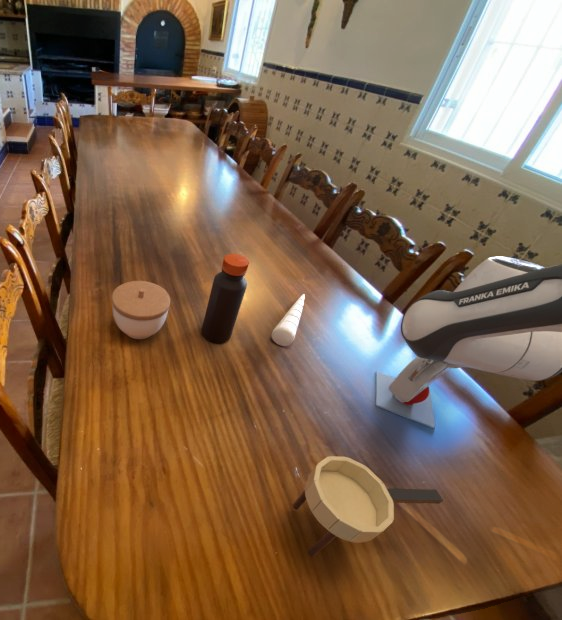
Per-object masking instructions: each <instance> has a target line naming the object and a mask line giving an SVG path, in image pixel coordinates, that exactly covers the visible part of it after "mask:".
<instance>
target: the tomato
mask: <svg viewBox="0 0 562 620" xmlns="http://www.w3.org/2000/svg"><path fill="white" fill-rule="evenodd" d="M429 390H430V387H429V386H428V387H427V388H425V389H424V390H423V391H422V392H420V393H419V394H418V395H417V396H415V397H414V398H413V399H411V400H410V401H408V402H403V404H406V405H412V404H414V403H420V402H423V401H424V400H425V399H426V398H427V397H428V395H429ZM394 396H395V395H394ZM401 403H402V402H401Z"/></svg>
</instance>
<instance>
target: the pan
mask: <svg viewBox="0 0 562 620" xmlns="http://www.w3.org/2000/svg"><path fill="white" fill-rule="evenodd" d="M443 502H444V499H443V498H442V496H441V494H440V493H439V491H438V490H437V489H429V488H427V489H426V488H425V489H424V488H421V489H420V488H418V489H417V488H387V487H386V485H385V483H384V482H383V481H382V479H380V477H378V476H377V475H376V474H375V473H374V472H373V471H372V470H371V469H370V468H369V467H368V466H366V465H365V464H364V463H361V462H358V461H357V460H354V459H352V458H350V457H348V456H339V455H338V456H335V455H329V456H326V457H325V458H323V459H322V460H321V461H319V462H318V463H317V464H316V465H315V466H314V467H313V468H312V470H311V471H310V472H309V474H308V475H307V478H306V481H305V483H304V490H303V491H302V492H301V494H300V495H299V496H298V498H297V499H296V500H294V502H293V503H292V508H293V510H296V511H299V510H300V508H301V506H302V505H304V503H306V504H307V505H308V508H309V510H310V512H311V513H312V515H313V516H314V518H315V519H316V521H318V522H319V524H320V525H321V526H322V527H323V528H325V530H327V532H326V533H325V534H323V536H322V537H320V539H318V540H317V541H316V542H315V543H314V544H313V545H312V546H311V547H310V548H308V549H307V555H308V556H309V557H311V558H314V557H315V556H316V555H318V554H319V552H321V551H322V550H323V549H324V548H325V547H326V546H327V545H329V544H330V543H331V542H333V540H334V539H336V538H339V539H341V540H343V541H347V542H350V543H356V544H359V543H361V544H362V543H367V542H370V541H372V540H374V539H376V537H378V536H379V535H381V534H382V533H383V532H384V531H385V530H386V529H387V528H389V526H391V525H392V524H393V523H394V520H395V513H394V512H395V504H432V505H433V504H434V505H436V504H437V505H438V504H440V505H441V503H443Z"/></svg>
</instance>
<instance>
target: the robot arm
mask: <svg viewBox="0 0 562 620" xmlns="http://www.w3.org/2000/svg"><path fill="white" fill-rule="evenodd" d="M400 333H401V336H402V338H403V340H404V342H405V343H406V345H407V346H408V348H409V349H410V350H411V351H412V353H413V354H415V356H416V357H415V358H413V360H411V361H410V362H409V363H408V364H407V365H405V367H404V368H403V369H402V370H401V371H400V373H399V374H398V375H397V376H396V377H394V378H395V379H394V381H393V382H392V383H391V384H390V386H389V391H390V392H392V393H393V394H394V395H395V398H396V399H397V400H399V401H400V402H402V403H403V402H408V401H410V400H411V399H413V398H414V397H415V396H417V395H418V394H419V393H420V392H422V391H423V390H424V389H425V388H427V387H429V386H431V385H432V384H433V383H435V382H436V381H437V380H438V379H439V378H440V377H442V376H443V375H445V374H446V373H447V372H448V371H450V370H451V369H460V368H470V369H474V370H479V371H483V372H487V373H493V374H496V375H500V376H505V377H509V378H513V379H518V380H523V381H530V382H543V381H545V380H549V379H552V378H554V377H556V376H558V375H560V374H561V373H562V264H557V265H552V266H549V267H545V266H542V265H540V264H537V263H535V262H530V261H527V260H524V259H519V258H514V257H508V256H501V255H500V256H491V257H488V258H486V259H485V260H483V261H482V262H480V263H479V264H478V265H477V266H476V267H475V268H474V269H473V270H471V271H470V272H469V273H468V274H467V276H466V277H465V278H464V279H463V280H462V281H461V282H460V284H459V285H458V286H457V287H456V288H455V289H454V290H453V291H447V290H444V289H437V290H434V291H431V292H428V293H427V294H424V295H423V296H421V297H419V298H417V299H416V300H414V301H413V302H412V303H411V304H410V305H409V306H408V307H407V308H406V310H405V311H404V313H403V316H402V318H401V323H400Z"/></svg>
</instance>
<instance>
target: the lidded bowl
mask: <svg viewBox="0 0 562 620" xmlns="http://www.w3.org/2000/svg"><path fill="white" fill-rule="evenodd" d="M111 304H112V305H111V307H112V316H113V319H114V322H115V324H116V326H117V327H118V329H119V330H120V331H121V332H122V333H123V334H125V335H126V336H128V337H129V338H131V339H135V340H145V339H147V338H149V337H151V336H153V335H155V334H156V333H158V332H159V331H160V330H161V329H162V327H163V326H164V324H165V322H166V320H167V317H168V313H169V309H170V306H171V297H170V294H169V293H168V291H167V290H166V289H165V288H163V286H160V285H158V284H156V283H153V282H151V281H146V280H132V281H127V282H124V283H121V284H120V285H118V286H117V287H116V288H115V289H114V290H113V292H112V294H111Z"/></svg>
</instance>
